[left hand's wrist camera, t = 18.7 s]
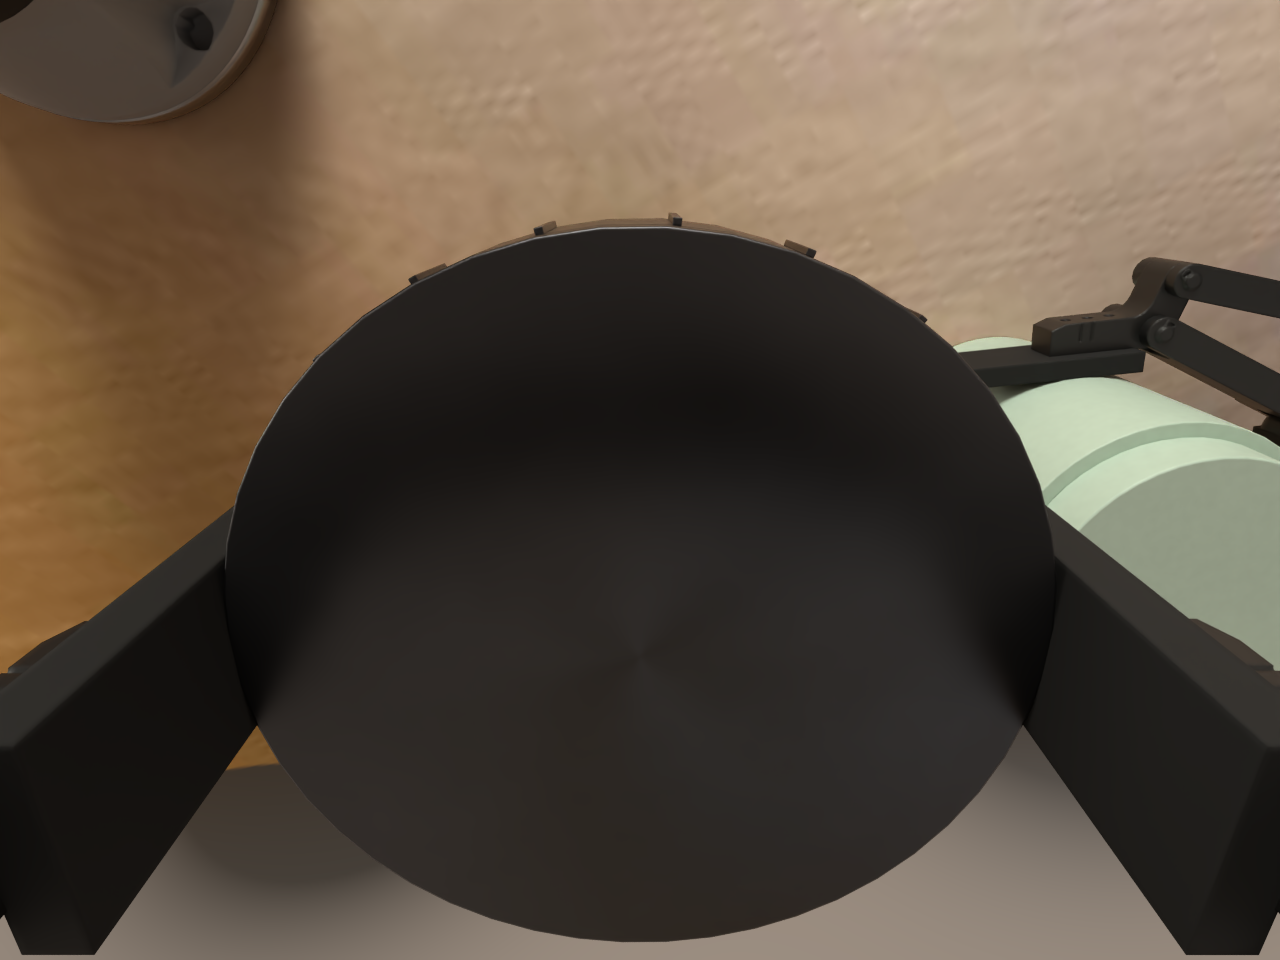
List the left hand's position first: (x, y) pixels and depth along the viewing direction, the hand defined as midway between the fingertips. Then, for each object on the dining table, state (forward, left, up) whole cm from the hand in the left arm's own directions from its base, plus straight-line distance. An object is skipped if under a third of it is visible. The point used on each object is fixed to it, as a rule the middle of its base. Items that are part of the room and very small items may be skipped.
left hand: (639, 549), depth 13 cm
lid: (0, 0, +3) cm, 3 cm away
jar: (+17, -6, -23) cm, 29 cm away
